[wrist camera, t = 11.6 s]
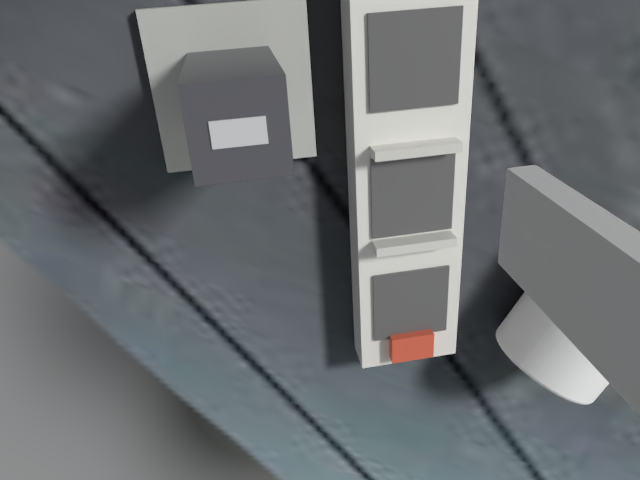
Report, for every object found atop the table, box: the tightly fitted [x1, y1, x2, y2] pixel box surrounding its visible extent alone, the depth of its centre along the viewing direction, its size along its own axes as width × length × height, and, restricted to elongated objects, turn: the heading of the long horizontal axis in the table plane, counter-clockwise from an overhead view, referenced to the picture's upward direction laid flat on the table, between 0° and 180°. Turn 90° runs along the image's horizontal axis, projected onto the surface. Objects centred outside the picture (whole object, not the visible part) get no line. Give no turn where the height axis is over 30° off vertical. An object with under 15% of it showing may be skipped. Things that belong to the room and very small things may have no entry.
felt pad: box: [135, 0, 317, 173], centre depth 31 cm, size 9×9×1 cm
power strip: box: [340, 0, 478, 368], centre depth 33 cm, size 34×7×4 cm, turn 4°
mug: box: [496, 292, 609, 405], centre depth 39 cm, size 12×10×8 cm
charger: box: [177, 46, 294, 187], centre depth 27 cm, size 4×4×9 cm
